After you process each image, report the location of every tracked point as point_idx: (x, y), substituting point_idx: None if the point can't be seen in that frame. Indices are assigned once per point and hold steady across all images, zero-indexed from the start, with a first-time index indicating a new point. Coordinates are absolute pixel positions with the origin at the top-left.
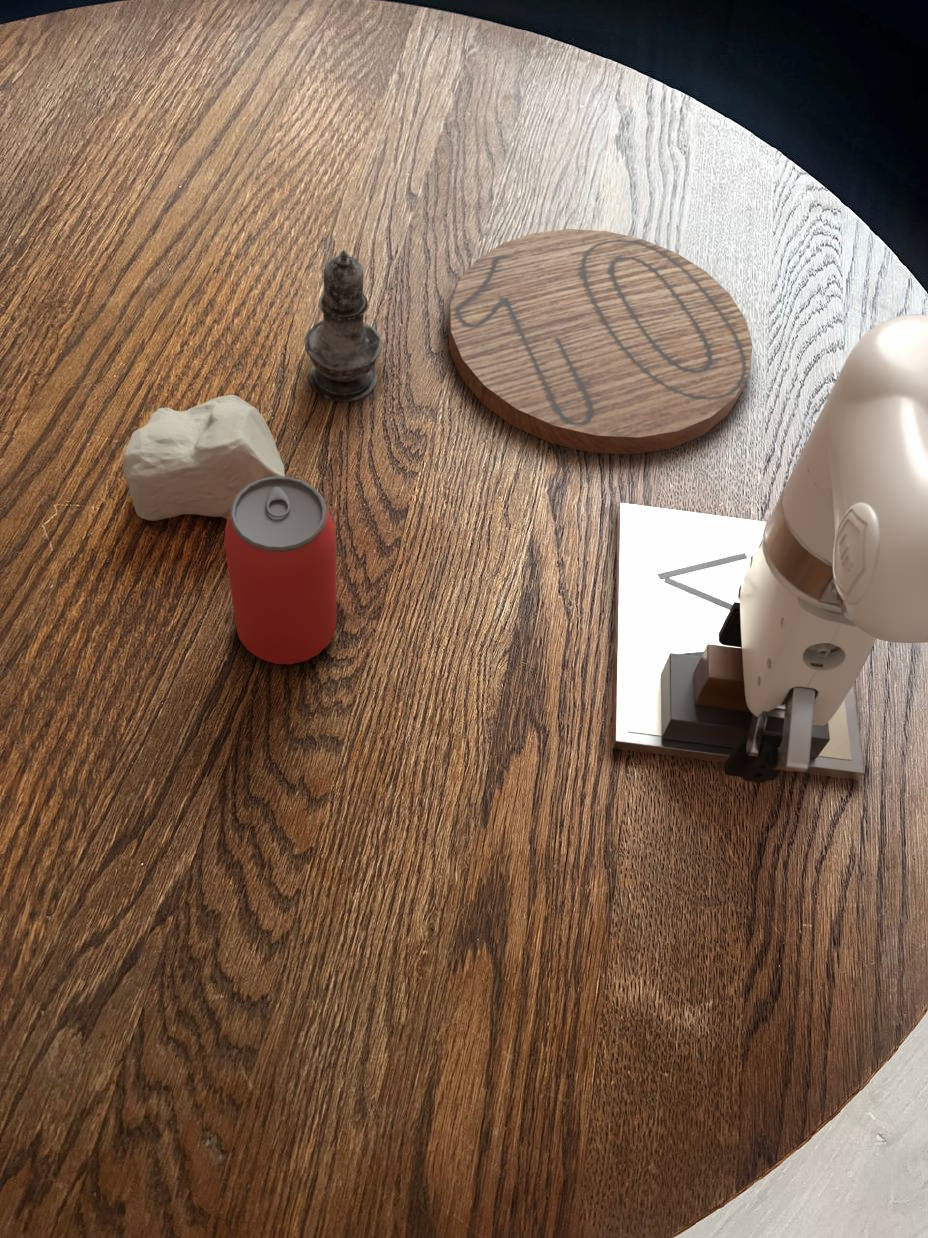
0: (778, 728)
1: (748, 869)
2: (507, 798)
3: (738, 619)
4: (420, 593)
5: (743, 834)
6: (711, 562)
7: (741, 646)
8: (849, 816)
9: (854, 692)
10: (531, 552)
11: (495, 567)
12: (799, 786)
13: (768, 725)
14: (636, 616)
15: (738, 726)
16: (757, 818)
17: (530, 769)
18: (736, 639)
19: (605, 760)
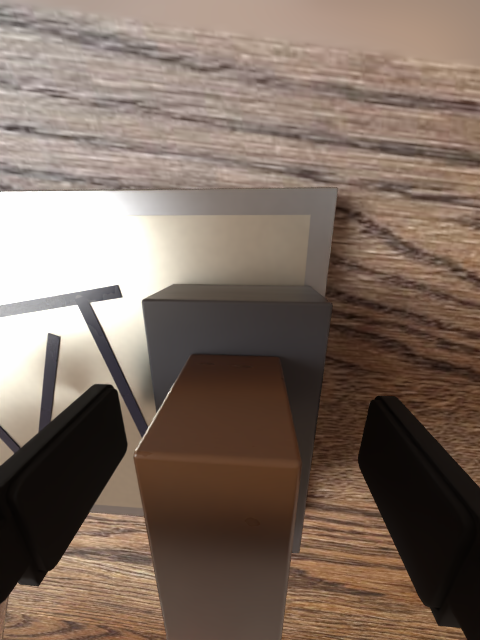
0: (306, 408)
1: (471, 384)
2: (354, 580)
3: (68, 533)
4: (148, 617)
5: (416, 386)
6: None
7: (121, 423)
8: (400, 219)
9: (150, 189)
10: (67, 552)
11: (98, 576)
12: (340, 302)
13: (301, 426)
14: (112, 499)
15: (306, 472)
16: (392, 366)
17: (322, 565)
18: (112, 450)
19: (308, 513)
